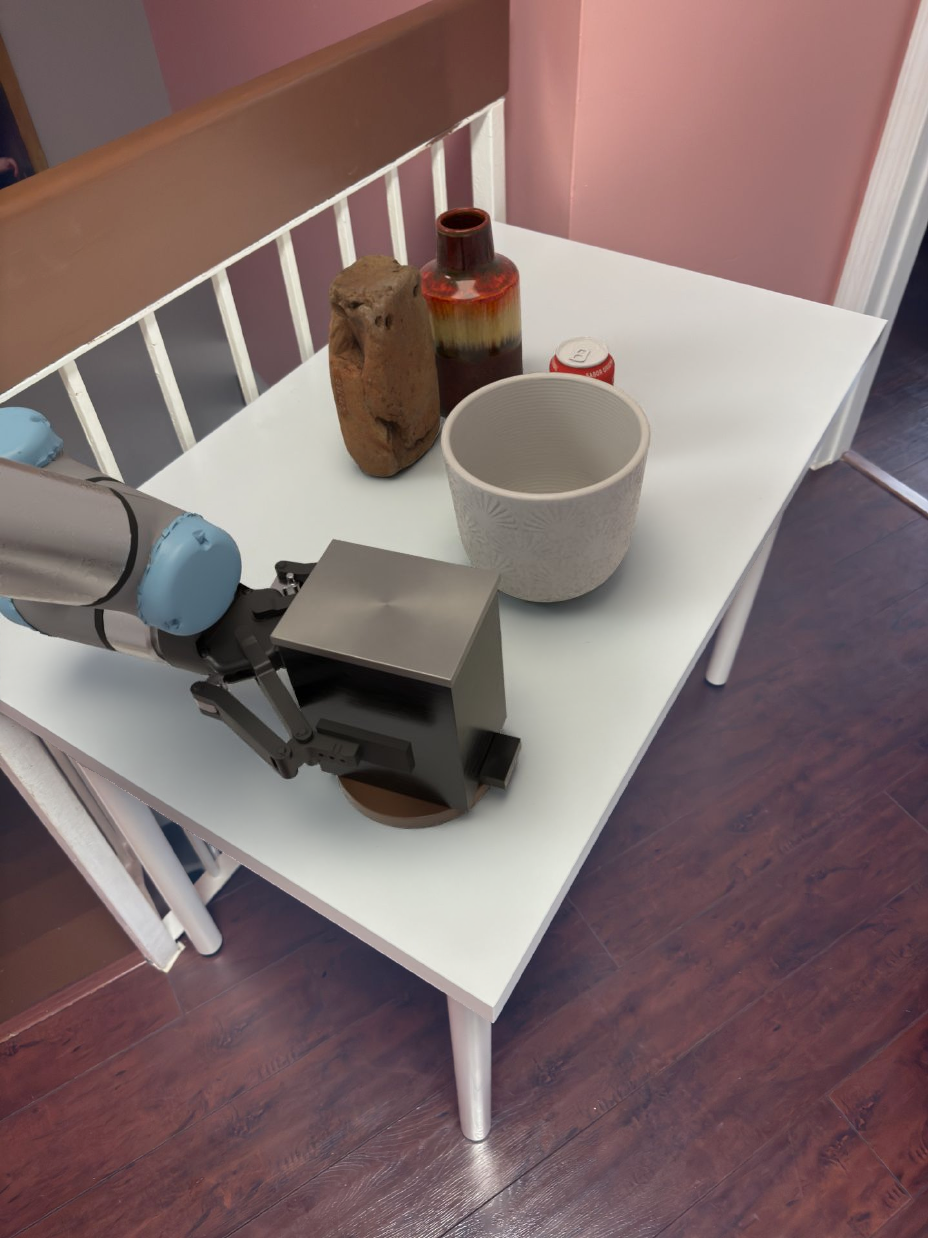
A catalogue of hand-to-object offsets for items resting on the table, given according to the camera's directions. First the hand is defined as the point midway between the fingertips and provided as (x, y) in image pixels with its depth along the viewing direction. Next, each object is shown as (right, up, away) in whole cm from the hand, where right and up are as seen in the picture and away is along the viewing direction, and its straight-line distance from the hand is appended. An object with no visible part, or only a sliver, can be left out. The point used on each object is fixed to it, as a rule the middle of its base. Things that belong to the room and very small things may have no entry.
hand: (446, 682), depth 63 cm
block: (-6, +22, +35) cm, 42 cm away
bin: (-2, -5, +7) cm, 9 cm away
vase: (+3, +30, +41) cm, 51 cm away
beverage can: (+13, +22, +33) cm, 42 cm away
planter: (+9, +10, +22) cm, 26 cm away
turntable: (-2, -6, +9) cm, 11 cm away
